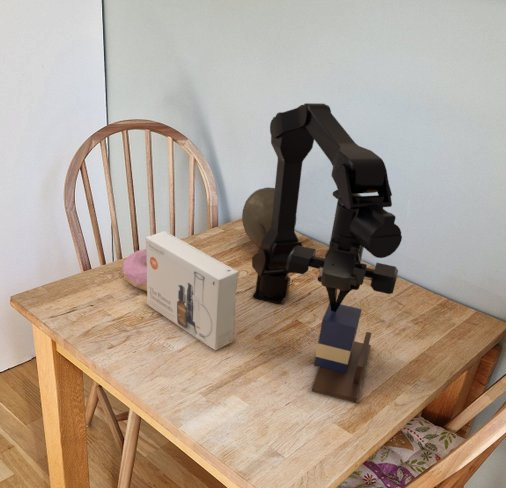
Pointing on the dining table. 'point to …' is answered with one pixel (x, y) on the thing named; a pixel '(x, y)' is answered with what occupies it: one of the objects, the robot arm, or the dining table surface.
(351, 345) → the tea box
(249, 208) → the cantaloupe
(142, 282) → the donut
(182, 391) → the dining table surface
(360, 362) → the walnut stand
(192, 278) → the skincare box
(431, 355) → the dining table surface
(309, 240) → the dining table surface
